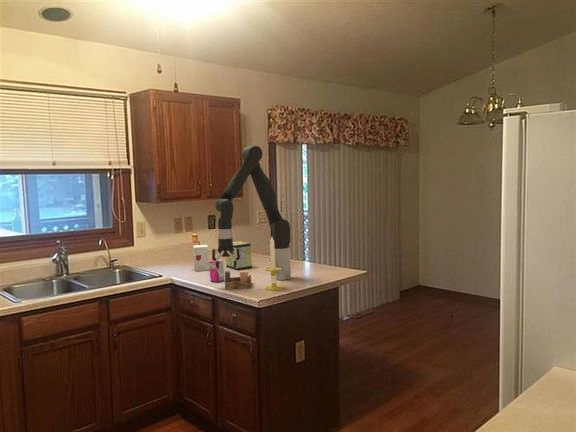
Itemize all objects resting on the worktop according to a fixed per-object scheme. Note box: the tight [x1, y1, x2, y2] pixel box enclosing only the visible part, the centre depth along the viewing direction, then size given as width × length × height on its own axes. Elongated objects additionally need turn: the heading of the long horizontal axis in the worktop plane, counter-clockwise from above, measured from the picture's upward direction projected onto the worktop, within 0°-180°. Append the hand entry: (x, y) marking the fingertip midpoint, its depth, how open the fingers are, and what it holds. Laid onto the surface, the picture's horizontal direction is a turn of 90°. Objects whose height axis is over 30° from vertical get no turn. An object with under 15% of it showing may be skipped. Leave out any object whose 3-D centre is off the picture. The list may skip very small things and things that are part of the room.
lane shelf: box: [224, 274, 252, 290], centre depth 261 cm, size 13×12×4 cm
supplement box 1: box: [193, 244, 210, 272], centre depth 309 cm, size 9×9×15 cm
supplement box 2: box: [209, 259, 225, 283], centre depth 275 cm, size 6×6×12 cm
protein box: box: [225, 241, 253, 271], centre depth 311 cm, size 10×16×16 cm
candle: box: [264, 236, 285, 291], centre depth 253 cm, size 10×10×27 cm
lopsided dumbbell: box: [224, 269, 249, 283], centre depth 261 cm, size 12×5×6 cm, turn 93°
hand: (226, 268), depth 260 cm, fingers open, 8 cm apart
